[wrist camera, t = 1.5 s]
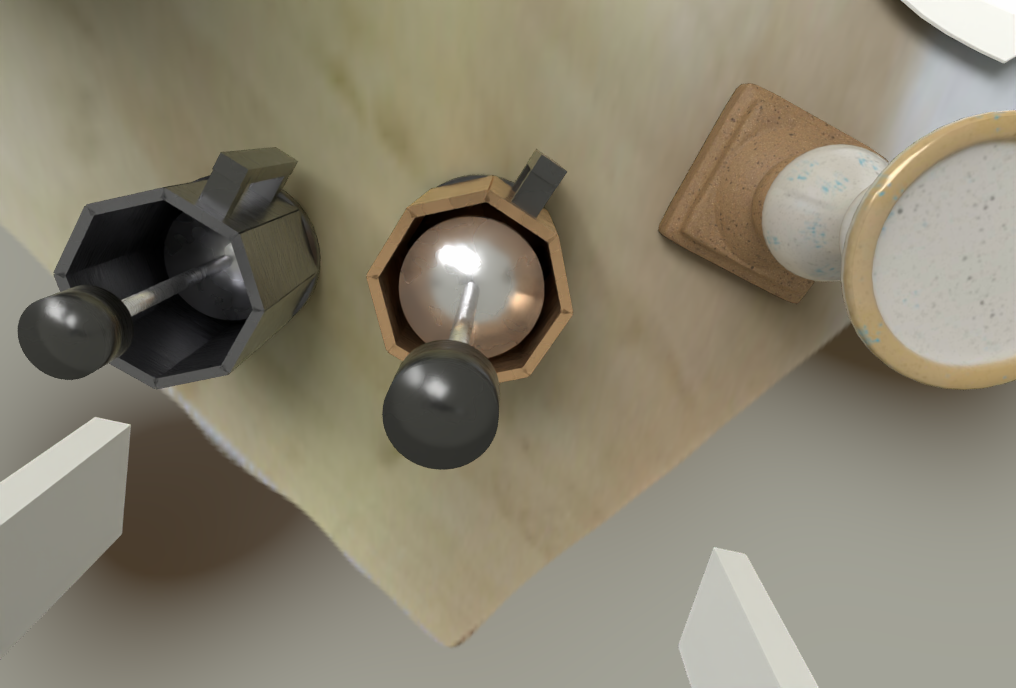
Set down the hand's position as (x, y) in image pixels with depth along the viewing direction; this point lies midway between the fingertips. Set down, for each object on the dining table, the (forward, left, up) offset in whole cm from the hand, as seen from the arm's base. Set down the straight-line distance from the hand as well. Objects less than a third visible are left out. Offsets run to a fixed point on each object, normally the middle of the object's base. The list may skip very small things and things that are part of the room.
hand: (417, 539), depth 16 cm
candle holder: (+14, +14, -36) cm, 41 cm away
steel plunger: (-14, -9, -33) cm, 37 cm away
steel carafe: (-14, -8, -35) cm, 39 cm away
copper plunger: (0, 0, -25) cm, 25 cm away
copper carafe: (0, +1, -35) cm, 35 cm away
